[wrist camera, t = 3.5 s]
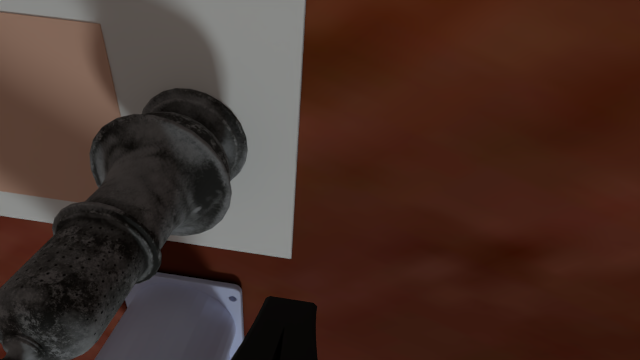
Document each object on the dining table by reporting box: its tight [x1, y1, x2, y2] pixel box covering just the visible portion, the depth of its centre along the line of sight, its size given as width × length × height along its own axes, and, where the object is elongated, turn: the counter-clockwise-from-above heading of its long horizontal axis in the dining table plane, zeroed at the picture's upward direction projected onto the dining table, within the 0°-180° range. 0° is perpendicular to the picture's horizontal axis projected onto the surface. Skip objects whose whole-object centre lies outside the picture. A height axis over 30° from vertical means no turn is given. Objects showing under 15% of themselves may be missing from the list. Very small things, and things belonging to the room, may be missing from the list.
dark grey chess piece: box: [0, 88, 248, 360], centre depth 14 cm, size 6×6×12 cm
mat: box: [0, 0, 306, 259], centre depth 19 cm, size 14×22×1 cm, turn 85°
